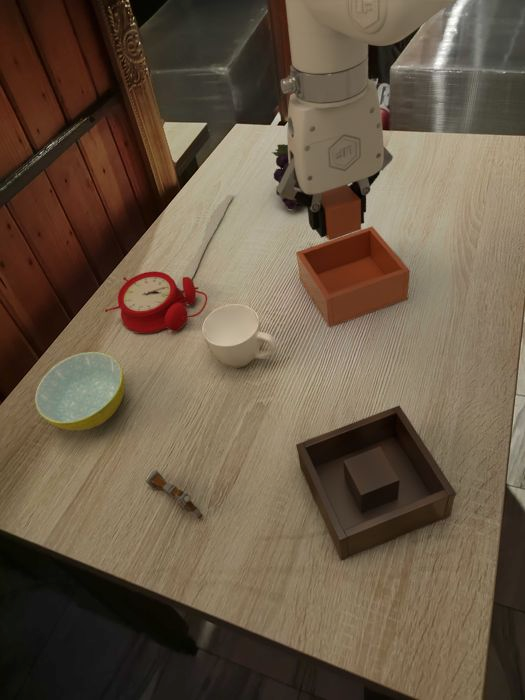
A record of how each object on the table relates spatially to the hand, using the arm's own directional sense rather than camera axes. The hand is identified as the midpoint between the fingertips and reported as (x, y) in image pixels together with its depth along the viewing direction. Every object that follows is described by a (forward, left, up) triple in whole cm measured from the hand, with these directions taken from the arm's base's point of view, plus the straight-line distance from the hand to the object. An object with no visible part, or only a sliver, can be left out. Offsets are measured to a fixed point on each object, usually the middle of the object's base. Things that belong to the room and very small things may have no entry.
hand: (337, 223), depth 68 cm
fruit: (-6, -31, -16) cm, 35 cm away
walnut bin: (+9, +28, -15) cm, 33 cm away
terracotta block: (0, 0, 0) cm, 0 cm away
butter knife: (+14, -27, -15) cm, 34 cm away
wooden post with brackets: (+30, +20, -16) cm, 39 cm away
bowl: (+38, +3, -16) cm, 41 cm away
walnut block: (+9, +28, -15) cm, 33 cm away
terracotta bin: (-3, -3, -15) cm, 16 cm away
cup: (+16, +3, -16) cm, 22 cm away
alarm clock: (+25, -12, -15) cm, 32 cm away
